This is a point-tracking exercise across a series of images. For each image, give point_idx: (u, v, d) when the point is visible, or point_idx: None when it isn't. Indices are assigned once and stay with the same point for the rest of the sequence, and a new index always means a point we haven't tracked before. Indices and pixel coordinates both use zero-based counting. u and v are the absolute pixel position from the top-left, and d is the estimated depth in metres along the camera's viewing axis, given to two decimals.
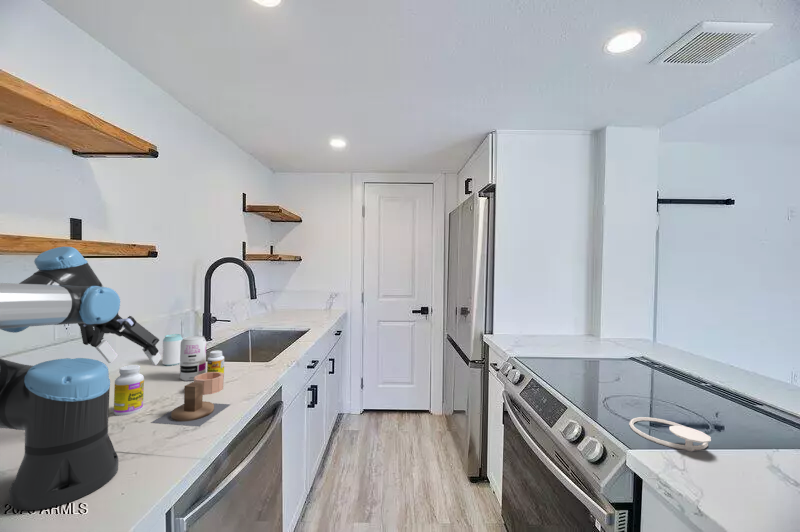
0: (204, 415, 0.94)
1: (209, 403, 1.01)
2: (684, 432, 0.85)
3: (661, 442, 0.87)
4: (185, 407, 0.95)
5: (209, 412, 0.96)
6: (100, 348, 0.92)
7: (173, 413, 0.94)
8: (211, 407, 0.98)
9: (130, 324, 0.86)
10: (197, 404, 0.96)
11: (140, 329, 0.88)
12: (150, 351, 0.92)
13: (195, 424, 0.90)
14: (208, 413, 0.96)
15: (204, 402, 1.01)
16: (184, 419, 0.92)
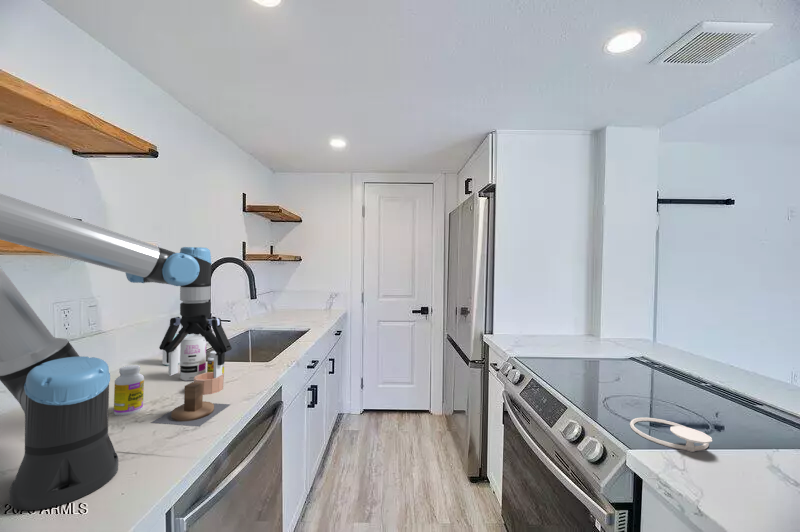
0: (204, 415, 0.94)
1: (209, 403, 1.01)
2: (685, 432, 0.85)
3: (662, 443, 0.87)
4: (185, 407, 0.95)
5: (209, 412, 0.96)
6: (171, 354, 0.97)
7: (173, 413, 0.94)
8: (211, 407, 0.98)
9: (217, 323, 0.96)
10: (197, 404, 0.96)
11: (222, 332, 0.96)
12: (219, 359, 0.96)
13: (195, 424, 0.90)
14: (208, 413, 0.96)
15: (204, 402, 1.01)
16: (184, 419, 0.92)
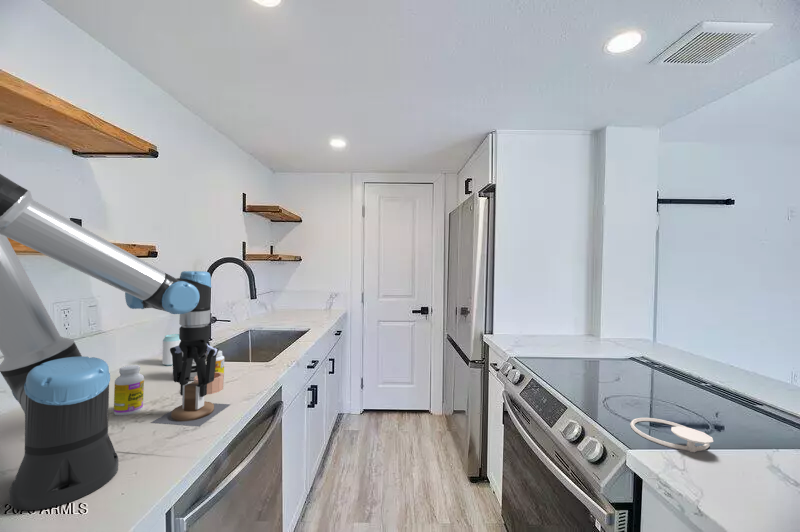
0: (204, 415, 0.94)
1: (209, 403, 1.01)
2: (686, 433, 0.85)
3: (663, 443, 0.86)
4: (185, 407, 0.95)
5: (209, 412, 0.96)
6: None
7: (173, 413, 0.94)
8: (211, 407, 0.98)
9: (213, 354, 0.96)
10: None
11: (213, 363, 0.96)
12: (201, 390, 0.96)
13: (195, 424, 0.90)
14: (208, 413, 0.96)
15: (204, 402, 1.01)
16: (184, 419, 0.92)
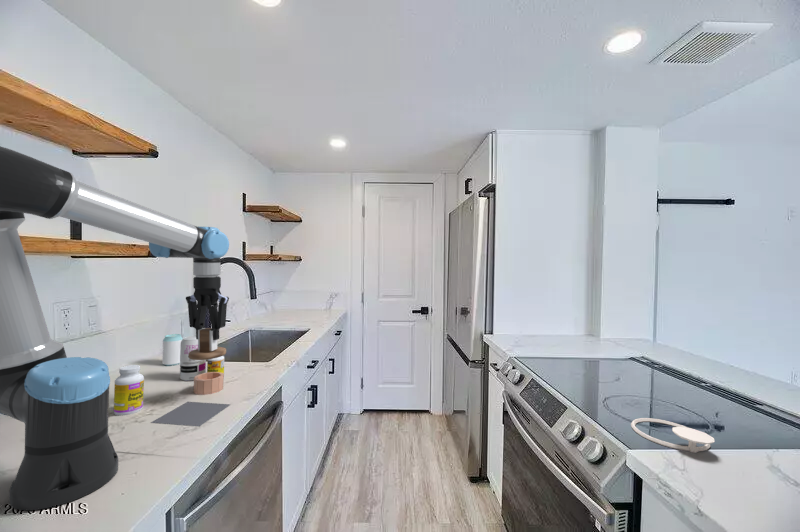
0: (217, 355, 1.05)
1: (222, 348, 1.11)
2: (687, 433, 0.85)
3: (664, 444, 0.86)
4: (200, 349, 1.06)
5: (222, 354, 1.07)
6: None
7: (190, 353, 1.05)
8: (223, 350, 1.09)
9: (224, 302, 1.06)
10: None
11: (224, 310, 1.07)
12: (214, 334, 1.07)
13: (195, 424, 0.90)
14: (221, 355, 1.06)
15: (217, 347, 1.12)
16: (200, 358, 1.03)
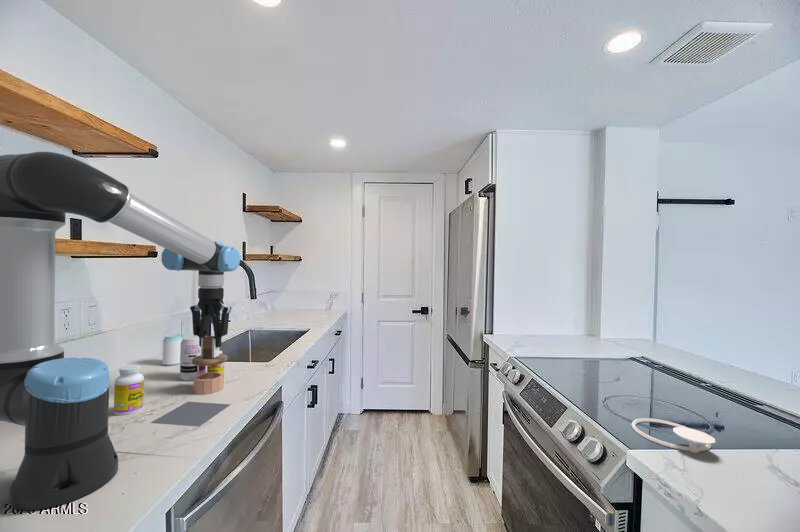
0: (219, 362, 1.12)
1: (223, 354, 1.18)
2: (688, 433, 0.84)
3: (665, 444, 0.86)
4: (203, 355, 1.13)
5: (223, 360, 1.14)
6: None
7: (193, 360, 1.11)
8: (225, 357, 1.16)
9: (227, 311, 1.13)
10: None
11: (226, 319, 1.14)
12: (216, 342, 1.14)
13: (195, 424, 0.90)
14: (223, 361, 1.13)
15: (219, 354, 1.19)
16: (203, 364, 1.09)
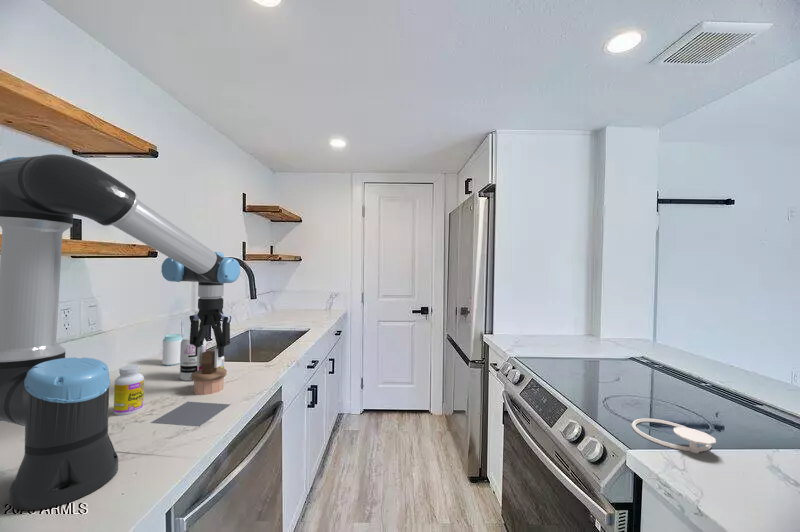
0: (219, 377, 1.12)
1: (222, 369, 1.18)
2: (689, 433, 0.84)
3: (665, 444, 0.86)
4: (202, 370, 1.13)
5: (223, 375, 1.14)
6: (200, 349, 1.14)
7: (193, 375, 1.11)
8: (224, 371, 1.16)
9: (227, 321, 1.13)
10: (212, 368, 1.14)
11: (228, 329, 1.14)
12: (219, 352, 1.13)
13: (195, 424, 0.90)
14: (222, 376, 1.13)
15: (218, 368, 1.19)
16: (202, 379, 1.09)
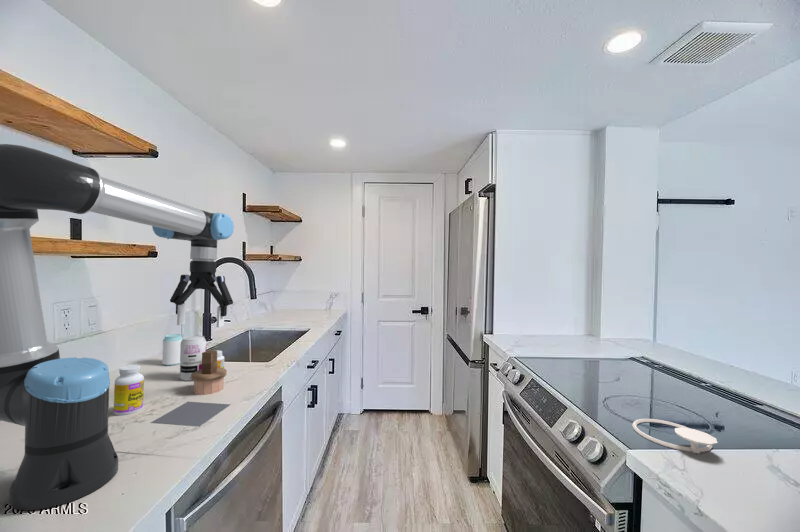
0: (219, 377, 1.12)
1: (222, 369, 1.18)
2: (690, 434, 0.84)
3: (667, 445, 0.86)
4: (202, 370, 1.13)
5: (223, 375, 1.14)
6: (180, 307, 1.10)
7: (193, 375, 1.11)
8: (224, 371, 1.16)
9: (221, 280, 1.10)
10: (212, 368, 1.14)
11: (225, 288, 1.10)
12: (221, 311, 1.09)
13: (195, 424, 0.90)
14: (222, 376, 1.13)
15: (218, 368, 1.19)
16: (202, 379, 1.09)
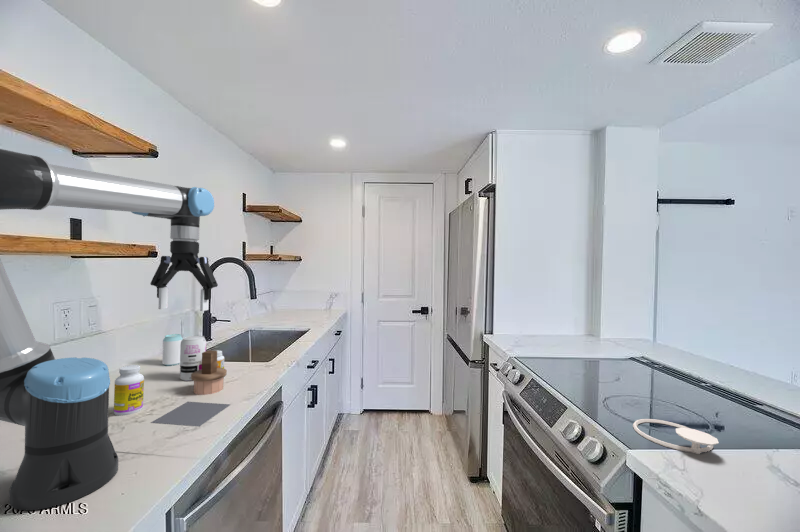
0: (219, 377, 1.12)
1: (222, 369, 1.18)
2: (691, 434, 0.84)
3: (668, 445, 0.85)
4: (202, 370, 1.13)
5: (223, 375, 1.14)
6: (162, 290, 1.04)
7: (193, 375, 1.11)
8: (224, 371, 1.16)
9: (204, 261, 1.03)
10: (212, 368, 1.14)
11: (209, 269, 1.04)
12: (205, 294, 1.03)
13: (195, 424, 0.90)
14: (222, 376, 1.13)
15: (218, 368, 1.19)
16: (202, 379, 1.09)
